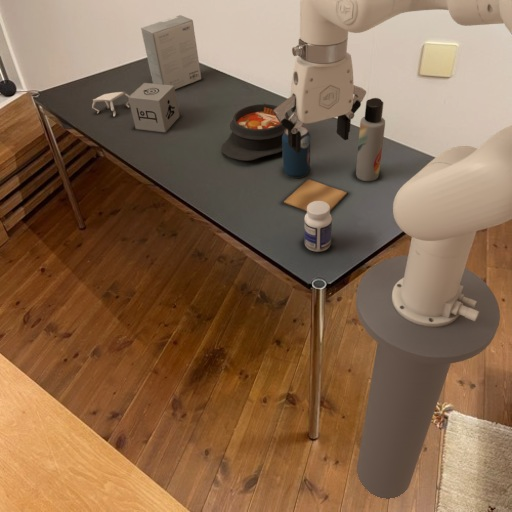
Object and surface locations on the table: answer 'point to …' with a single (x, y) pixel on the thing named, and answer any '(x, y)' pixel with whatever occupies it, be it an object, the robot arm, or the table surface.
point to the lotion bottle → (370, 141)
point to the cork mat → (314, 195)
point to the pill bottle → (317, 226)
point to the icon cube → (154, 107)
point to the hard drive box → (172, 52)
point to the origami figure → (109, 100)
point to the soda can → (296, 155)
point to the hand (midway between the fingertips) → (318, 142)
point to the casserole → (254, 133)
